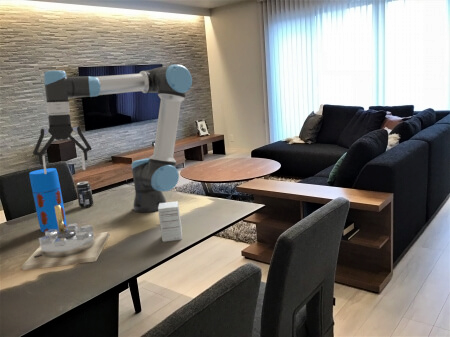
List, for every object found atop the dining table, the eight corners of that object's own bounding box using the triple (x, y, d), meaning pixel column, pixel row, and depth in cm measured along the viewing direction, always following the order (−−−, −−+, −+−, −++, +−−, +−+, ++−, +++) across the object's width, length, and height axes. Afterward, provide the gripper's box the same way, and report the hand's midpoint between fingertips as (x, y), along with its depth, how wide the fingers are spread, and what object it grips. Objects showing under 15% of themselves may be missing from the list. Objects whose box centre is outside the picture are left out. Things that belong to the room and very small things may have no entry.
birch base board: (109, 235, 164) (108, 231, 164) (96, 261, 141) (95, 256, 140) (46, 242, 163) (46, 238, 162) (22, 270, 139) (21, 265, 139)
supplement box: (163, 234, 159) (158, 202, 156) (182, 232, 160) (178, 200, 157) (161, 242, 152) (157, 208, 149) (182, 239, 152) (178, 206, 150)
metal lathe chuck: (101, 246, 149) (95, 208, 146) (48, 262, 139) (40, 222, 136) (86, 233, 163) (80, 198, 160) (37, 247, 154) (29, 210, 151)
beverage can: (78, 205, 210) (74, 182, 208) (92, 203, 213) (88, 180, 211) (80, 209, 204) (76, 185, 202) (94, 206, 207) (90, 182, 204)
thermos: (57, 232, 174) (46, 173, 168) (34, 232, 176) (23, 174, 171) (71, 223, 184) (61, 167, 179) (50, 223, 186) (39, 168, 181)
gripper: (21, 116, 145) (28, 176, 149) (95, 112, 155) (100, 169, 159) (21, 115, 152) (28, 173, 156) (93, 112, 162) (98, 166, 166)
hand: (65, 171), depth 157 cm, fingers open, 13 cm apart
